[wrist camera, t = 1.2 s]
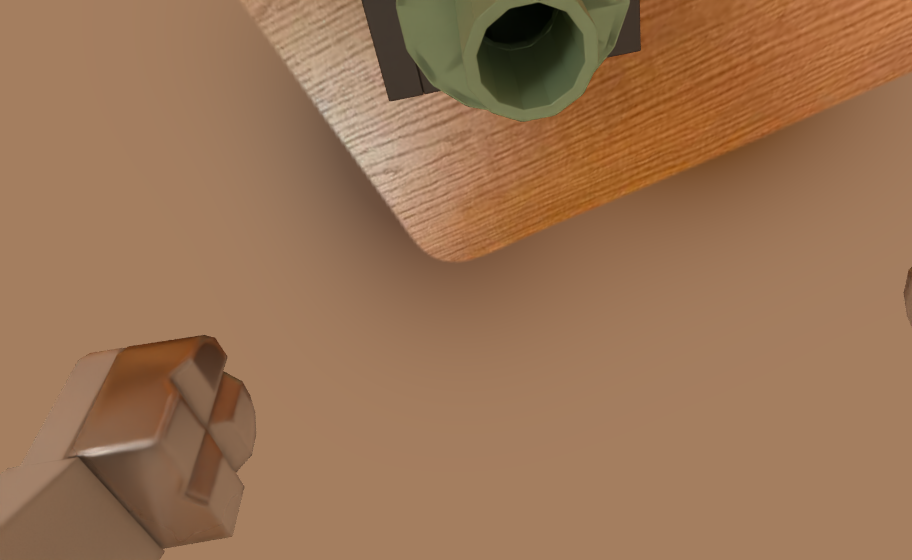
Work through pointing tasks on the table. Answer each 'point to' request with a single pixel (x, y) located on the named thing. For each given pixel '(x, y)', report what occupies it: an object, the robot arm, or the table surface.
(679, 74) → the table surface
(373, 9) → the box
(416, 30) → the bottle
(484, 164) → the table surface
